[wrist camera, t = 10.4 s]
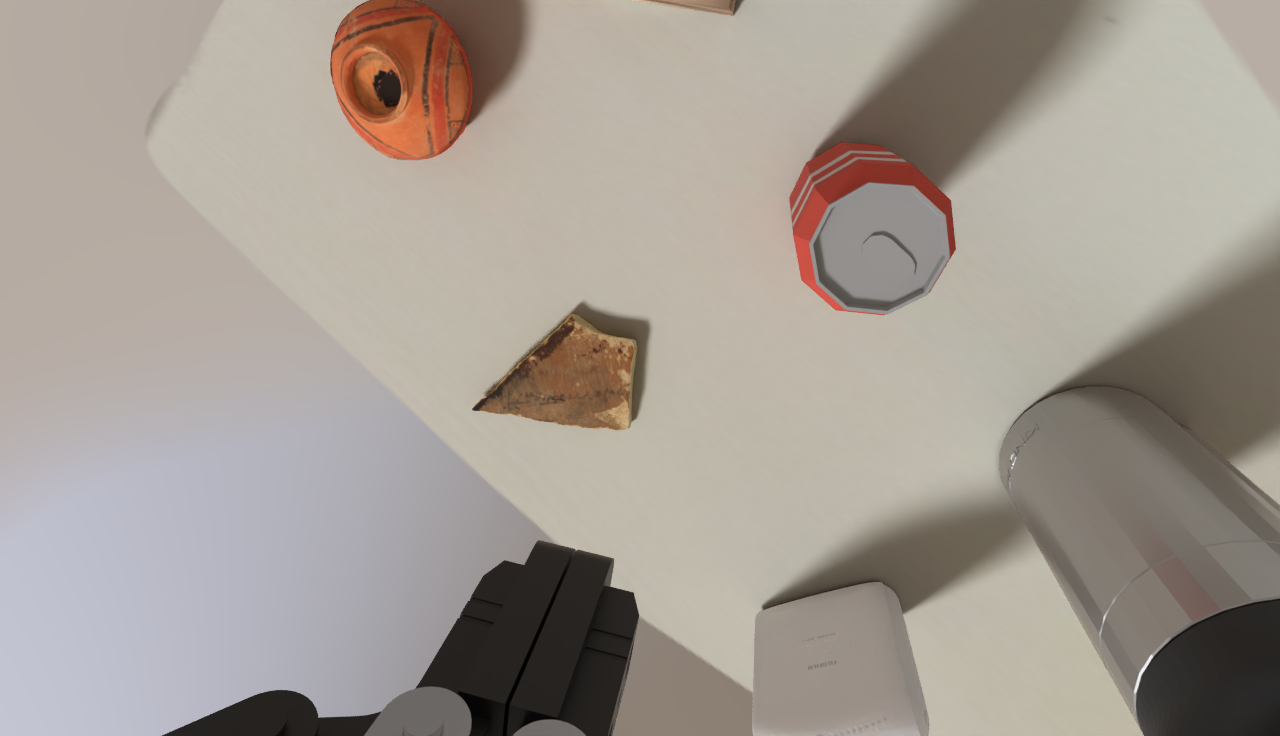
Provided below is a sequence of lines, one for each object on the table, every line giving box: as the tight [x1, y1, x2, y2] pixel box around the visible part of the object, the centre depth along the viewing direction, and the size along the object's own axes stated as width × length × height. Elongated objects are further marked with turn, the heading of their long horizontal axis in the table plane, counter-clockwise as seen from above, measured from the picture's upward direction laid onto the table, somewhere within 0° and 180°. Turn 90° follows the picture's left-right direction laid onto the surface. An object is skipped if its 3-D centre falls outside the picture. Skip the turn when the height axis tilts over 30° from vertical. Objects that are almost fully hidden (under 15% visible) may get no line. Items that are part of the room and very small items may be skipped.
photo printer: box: [752, 582, 929, 736], centre depth 42 cm, size 10×4×12 cm, turn 117°
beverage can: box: [790, 142, 956, 315], centre depth 31 cm, size 6×6×12 cm
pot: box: [330, 0, 472, 160], centre depth 36 cm, size 8×8×7 cm
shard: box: [472, 313, 638, 430], centre depth 44 cm, size 11×8×2 cm
